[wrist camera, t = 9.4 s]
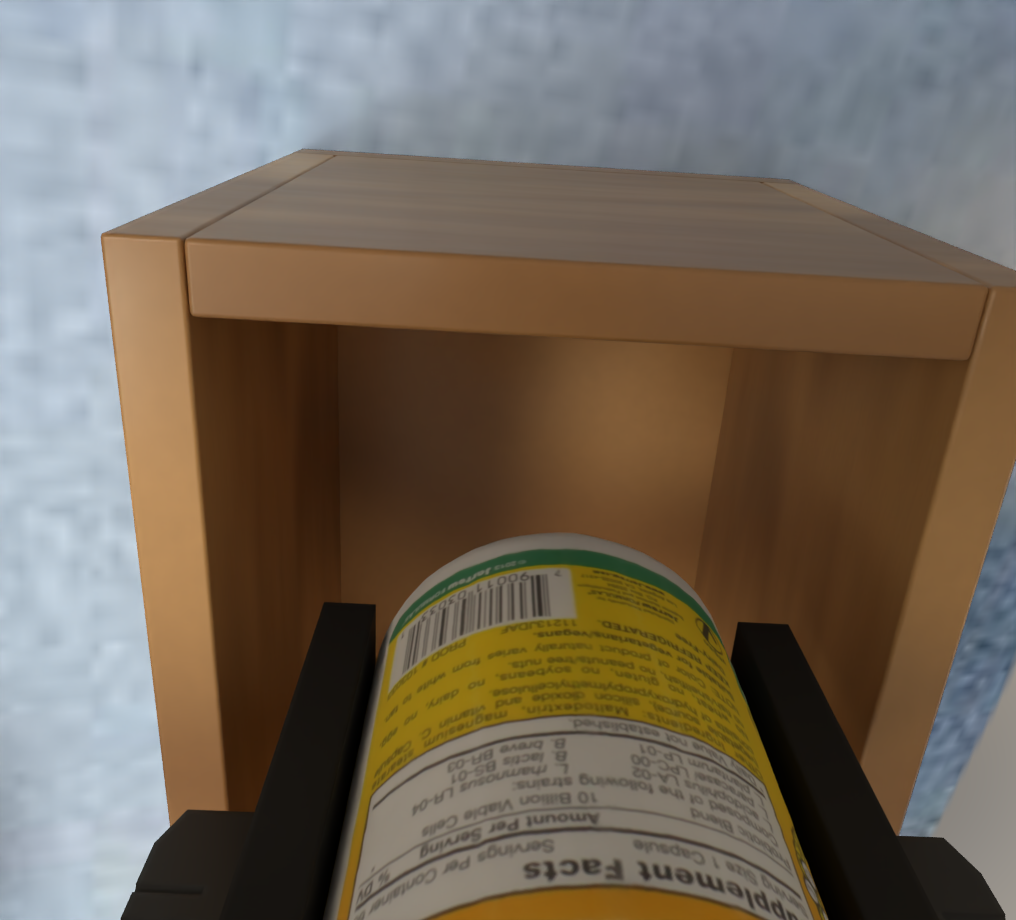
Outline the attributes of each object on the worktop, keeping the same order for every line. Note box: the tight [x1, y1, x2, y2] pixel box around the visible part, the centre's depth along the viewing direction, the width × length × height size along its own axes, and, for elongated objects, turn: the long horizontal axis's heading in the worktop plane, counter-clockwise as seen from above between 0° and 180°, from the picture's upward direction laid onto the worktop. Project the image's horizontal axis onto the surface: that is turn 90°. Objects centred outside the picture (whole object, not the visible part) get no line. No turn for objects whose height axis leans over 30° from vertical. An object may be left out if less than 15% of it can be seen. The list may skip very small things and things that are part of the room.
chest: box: [101, 149, 1016, 836], centre depth 20 cm, size 17×12×12 cm
